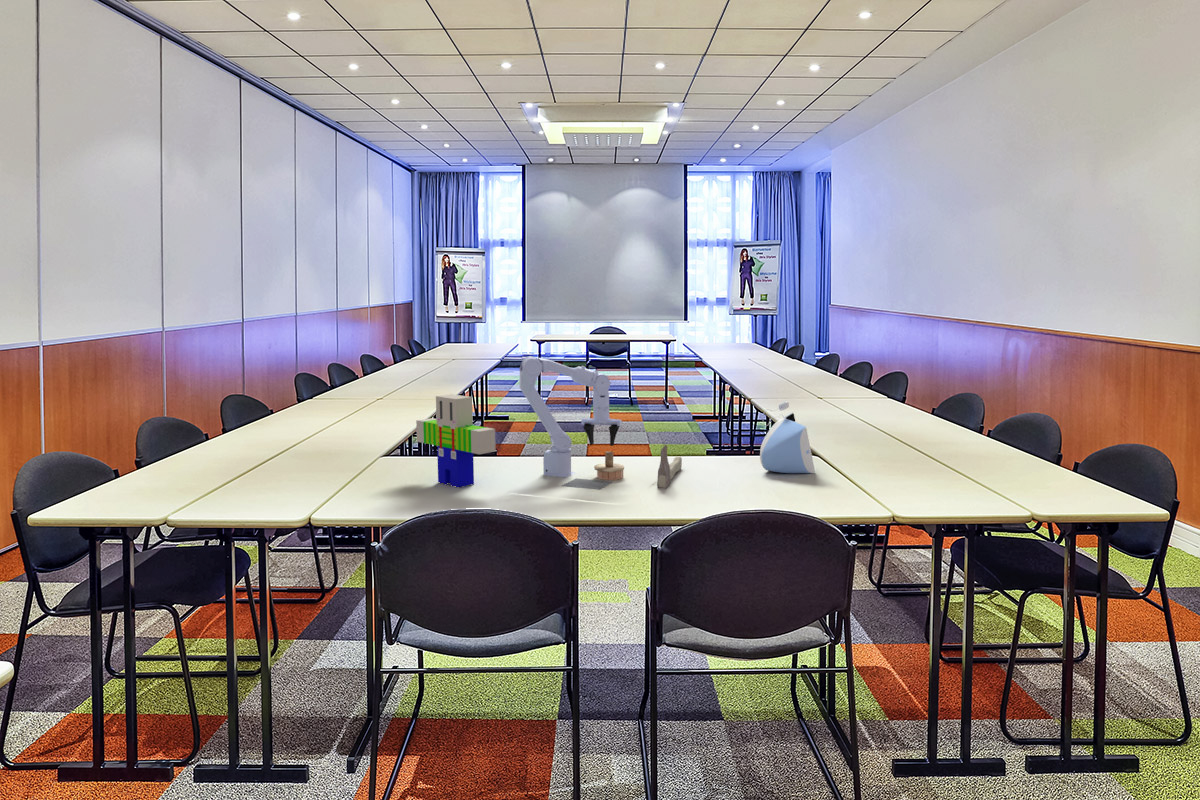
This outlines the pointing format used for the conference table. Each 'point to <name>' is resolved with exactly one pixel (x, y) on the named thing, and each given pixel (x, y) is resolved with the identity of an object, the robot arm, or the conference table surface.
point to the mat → (587, 484)
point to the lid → (609, 464)
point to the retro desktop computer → (786, 446)
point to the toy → (455, 439)
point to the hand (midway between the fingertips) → (601, 444)
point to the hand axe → (667, 469)
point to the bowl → (610, 475)
